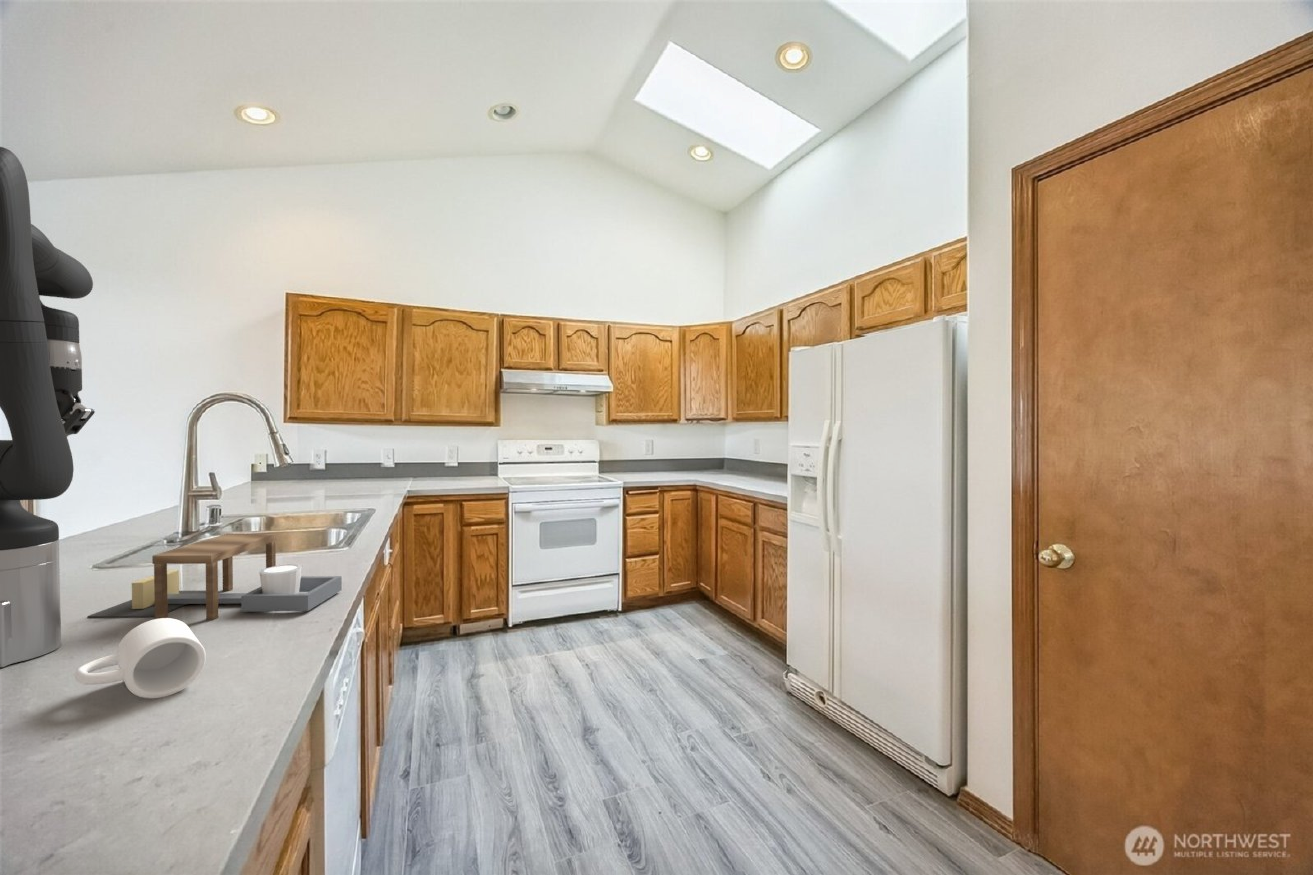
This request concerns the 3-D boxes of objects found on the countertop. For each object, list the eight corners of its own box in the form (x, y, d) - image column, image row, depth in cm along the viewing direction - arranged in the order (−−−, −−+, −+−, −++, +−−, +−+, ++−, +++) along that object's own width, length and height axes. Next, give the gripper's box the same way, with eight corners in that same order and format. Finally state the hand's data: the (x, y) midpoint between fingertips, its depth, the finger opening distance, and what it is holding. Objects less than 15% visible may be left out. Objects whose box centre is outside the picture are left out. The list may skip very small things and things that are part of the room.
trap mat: (157, 617, 96) (157, 615, 96) (87, 617, 95) (87, 616, 95) (215, 591, 110) (215, 590, 110) (155, 592, 109) (155, 590, 109)
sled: (308, 610, 99) (307, 584, 98) (122, 612, 96) (121, 586, 96) (341, 590, 110) (341, 566, 110) (176, 591, 108) (176, 567, 108)
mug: (192, 663, 79) (191, 611, 78) (206, 685, 72) (205, 629, 72) (73, 694, 69) (72, 635, 69) (78, 723, 63) (76, 658, 63)
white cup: (310, 598, 107) (310, 564, 107) (282, 610, 100) (282, 574, 100) (280, 596, 108) (279, 563, 107) (250, 608, 101) (250, 572, 101)
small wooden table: (211, 620, 94) (211, 555, 94) (153, 621, 94) (152, 555, 93) (276, 588, 112) (276, 533, 112) (228, 588, 112) (227, 533, 111)
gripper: (-11, 362, 93) (-8, 458, 94) (68, 364, 94) (71, 459, 95) (36, 366, 101) (38, 455, 101) (109, 368, 102) (111, 456, 102)
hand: (54, 457), depth 98 cm, fingers closed
